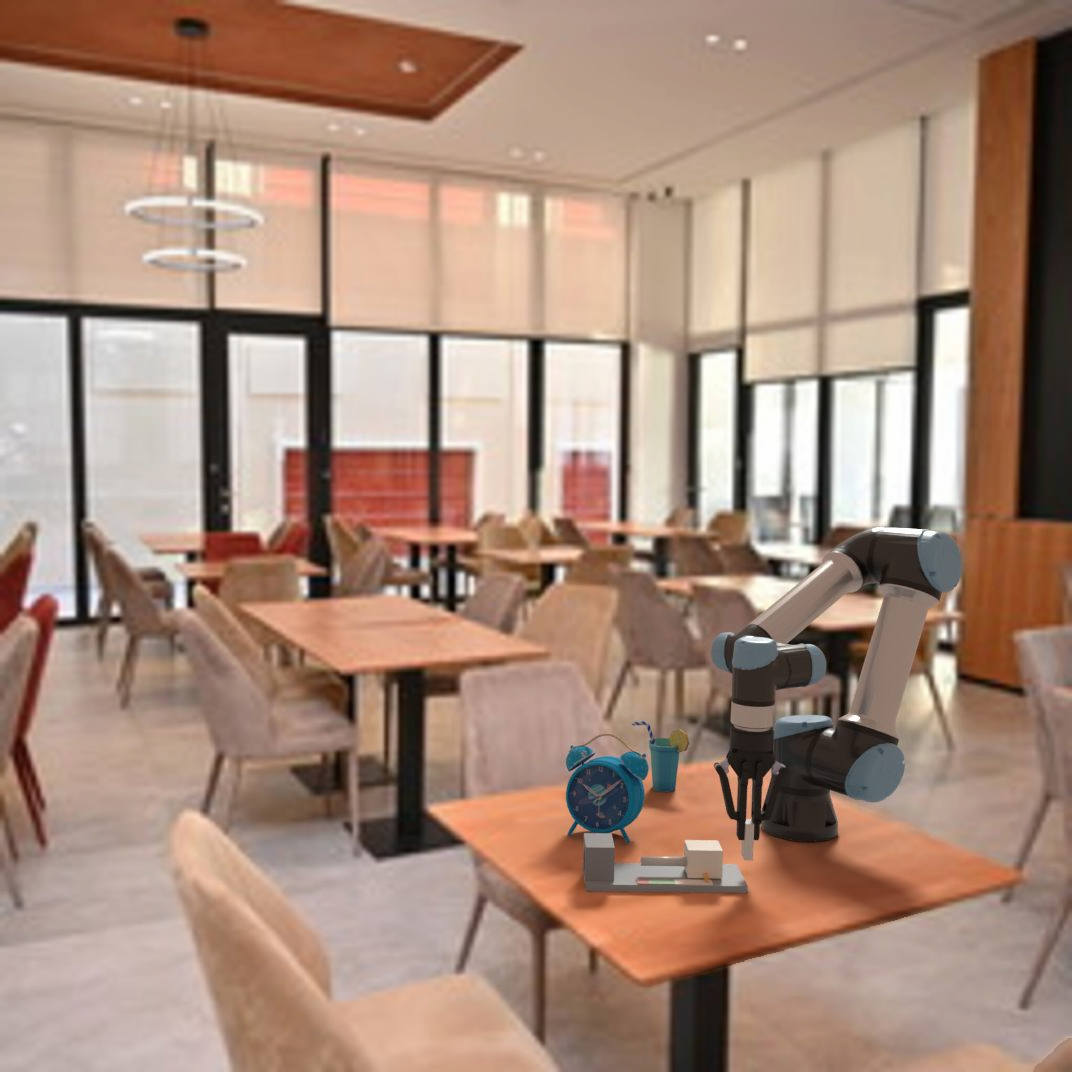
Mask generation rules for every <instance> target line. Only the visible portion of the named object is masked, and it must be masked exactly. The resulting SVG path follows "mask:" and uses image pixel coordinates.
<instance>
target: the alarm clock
mask: <svg viewBox="0 0 1072 1072" xmlns="http://www.w3.org/2000/svg"><path fill="white" fill-rule="evenodd" d="M605 736H607V737H612V738H615V739H617V740H618V741H620V743H622V744H623V746H624V747H626V748H627V749H628V750H629V751H627V752H624V753H623V754H621V755H620V757H617V756H613V755H604V756H599V757H598V756H597V757H595V758H593V759H592V757H594V756H595V755H596V752H595V751H594V750H593V749H592V748H590V747H588V745H589V744H591V743H592V742H593V741H595V740H597V739H598V738H601V737H605ZM569 748H570V750H568V754H567V756H566V759H565V766H566V769H567V771H568V772H572V771H573V770H574V771H573V773H572V775H571V776H570V778H569V779H568V782H567V786H566V791H565V802H566V807H567V809H568V811H569V814H570V816H571V817H572V819H573V820H574V822H573V823H572V825H571V826H570V828H569V829H568V831H567V836H571V835H573V833H574V831H575V830H576V828H577V826H578V825H579V826H580V827H582V828H583V829H585V830H586V831H589V832H590V833H613V832H617V831H620V833H621V835H622V837H623V839H624V841H625V842H626V844H627V845H629V844H631V841H630V838H629V836H628V833H627V832H626V830H625V828H626V827H628V826H630V825H631V824H632V823H633V822H634V821H635V820H636V819H638V817H639V816H640V813H642V810H643V807H644V804H645V803H644V802H645V786H644V781H645V780H646V778H647V777H648V774H649V769H650V768H649V763H648V760H647V754H646V753H642V752H639V751H638V750H636V749H633V748H632V747H630V746H629V745H628V743H626V742H625V741H624V740H623V739H622V738H621V737H619V736H618V735H615V734H613V733H609V732H607V733H601V734H598V735H596V736H594V737H593V738H592V739H590V740H588V741H587V742H585V743H582V744H578V745H575V746H574V745H570V746H569ZM590 759H591V760H590ZM588 760H589V761H588Z"/></svg>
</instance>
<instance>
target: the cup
mask: <svg viewBox="0 0 1072 1072" xmlns="http://www.w3.org/2000/svg"><path fill="white" fill-rule="evenodd" d="M631 726H646V728H647V729H646V730H647V731H648V735H649V738H650V739H649V740H648V747H649V750H650V764H651V765H650V766H651V780H652V791H656V792H659V793H671V792H674V791H676V786H677V779H678V778H677V776H678V767H679V760H680V753H681V752H686V751H687V750H688V747H689V745H690V739H689V737H688V734H687V733H686V732H684V731H683V730H682V729H681V728H680V729H676V730H672V731H671V734H670V735H669V738H668V737H667V738H665V737H663V738H662V737H661V738H659V737H657V738H654V734H653V732H652V727H651V725H650V724H649V723H648V722H647V721H646V720H642V721H631Z"/></svg>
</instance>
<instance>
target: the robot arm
mask: <svg viewBox="0 0 1072 1072" xmlns="http://www.w3.org/2000/svg"><path fill="white" fill-rule="evenodd" d="M962 571H963V559H962V554H961V552H960V548H959V545H958V543H957V542H956V540H955V539H954V538H953V536H951V535H950V534H948V533H946V532H944V531H938V530H931V529H930V528H925V529H918V528H906V527H905V528H904V527H891V526H876V527H872V528H867V529H865V530H863V531H860V532H858V533H856V534H854V535H852V536H850V537H849V538H847V539H845V540H844V541H842V542H840V543H839V544H837V545H836V546H834V547H833V548H831V550H829V551H828V552H827V553H826V554H825V555H824V556H823V557H822V560H821V564H820V565H819V566H818V567H816V568H815V569H814V570H812V572H810V573H809V574H808V575H807V576H806V577H805V578H803V579H802V580H800V582H798V583H797V584H795V586H793V587H792V588H791V589H789V591H787V592H786V593H785V594H784V595H782V596H781V597H780V598H778V599H777V600H776V601H775V602H774V603H772V604H771V605H770V606H769V607H768V608H767V609H764V611H763V612H762V613H760V615H758V616H757V617H756V618H754V619H753V620H752V621H750V622H749V623H748V624H747V625H746V626H745V627H743V628H742V629H741V630H739V631H738V632H737V633H736V632H734V631H730V632H721V633H719V634H718V635H716V637H715V638H714V640H713V641H712V643H711V644H712V645H711V648H710V657H711V660H712V663H713V665H714V667H716V668H717V669H719V670H720V671H721V670H722V671H724V672H727V673H730V674H731V706H730V707H731V709H730V723H731V726H730V731H729V749H728V752H727V754H726V756H725V757H726V758H725V759H724V760H722V761H720V762H715V763H713V769H714V770H715V771H716V773H717V775H718V778H719V781H720V786H721V790H722V796H723V800H724V802H723V803H724V805H725V806H724V807H725V811H726V814H727V816H728V817H729V819H730V820H734V821H736V833H735V834H736V836H737V839H738V840H739V841H741V853H740V854H741V857H742V859H743V860H744V861H753V860H754V842H755V841H759V840H760V837H761V835H760V833H761V829H762V830H763V831H764V832H766V833H767V834H769V835H770V836H773V837H775V838H779V839H782V840H789V841H795V842H805V843H817V842H824V841H829V840H831V839H834V838H835V837H837V835H838V832H839V820H838V817H837V815H836V811H835V807H834V804H833V800H832V797H831V792H835V793H837V794H841V795H844V796H847V797H849V798H851V799H854V800H856V801H864V802H866V803H879V802H882V801H884V800H886V799H887V798H888V797H890V796H892V794H894V792H895V791H896V790H897V789H898V787H899V786H900V783H901V782H902V780H903V776H904V773H905V769H906V768H905V767H906V763H905V762H904V761H905V755H904V753H903V751H902V749H900V747H899V746H898V744H899V742H900V741H899V740H900V736H899V735H898V733H897V731H896V730H895V725H896V721H897V718H898V714H899V711H900V707H901V703H902V701H903V698H904V697H903V696H904V695H905V694H904V693H905V690H906V687H907V683H908V680H909V677H910V674H911V669H912V667H913V663H914V660H915V656H916V654H917V649H918V646H919V643H920V640H921V635H922V633H923V629H924V626H925V623H926V619H927V616H928V611H929V610H931V609H932V608H935V607H936V606H938V605H939V604H940V600H941V597H942V594H944V593H945V594H946V593H948V592H952V591H953V590H955V588H957V586H958V584H959V583H960V580H961V577H962ZM869 584H870V585H871V584H878V589H879V591H880V593H881V594H882V597H883V598H882V602H881V605H880V609H879V612H878V615H877V618H876V622H875V625H874V628H873V632H872V634H871V638H870V642H869V645H868V648H867V652H866V655H865V657H864V662H863V665H862V669H861V671H860V675H859V677H858V678H859V679H858V682H857V684H856V685H857V686H856V689H855V692H854V694H853V699H852V701H851V704H850V709H849V712H847V714H844V715H843V716H841V717H839V718H838V719H837V723H836V727H835V728H834V723H833V722H834V721H833V719H832V718H831V717H829V716H827V715H821V714H800V715H799V714H798V715H797V714H796V715H787V716H783V717H780V718H778V719H777V720H775V710H776V709H775V708H776V706H775V705H776V691H780V690H787V689H788V690H789V689H794V688H806V687H809V686H813V685H816V684H818V683H820V682H821V681H822V680H823V679H824V677H825V675H826V673H827V672H826V671H827V659H826V657H825V654H824V653H823V651H822V650H821V649H820V647H818V646H816V645H814V644H811V643H805V644H804V643H798V644H789V642H790V641H792V640H793V639H795V637H797V636H798V635H799V634H800V633H801V632H802V631H804V629H806V628H807V627H808V626H809V625H810V624H812V623H813V622H815V620H817V619H818V618H819V617H820V616H822V615H823V614H824V612H826V611H827V610H828V609H830V608H831V607H832V606H833V605H834V604H835V603H837V602H838V601H839V600H840V599H841V598H842V597H844V595H846V594H848V593H855V592H857V591H859V590H860V589H861V588H863V586H866V585H869ZM729 767H731V768H732V770H733V772H734V773H735V775H736V776H737V795H736V797H737V798H736V809H735V805H734V804H735V803H734V799H733V795H732V789H731V785H730V781H729V777H728V775H727V774H728V773H730V770H729ZM770 770H771V772H770ZM768 772H770V773H771V774H770V780H769V784H768V787H767V792H766V795H765V799H764V802H763V805H762V800H763V797H762V795H763V784H764V778H765V777H766V775H767V774H768ZM749 780H751V783H752V784H751V785H752V786H751V811H750V815H751V816H750V817H751V818H747V807H748V806H747V804H748V787H749Z"/></svg>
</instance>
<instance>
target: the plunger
mask: <svg viewBox="0 0 1072 1072" xmlns="http://www.w3.org/2000/svg"><path fill="white" fill-rule="evenodd" d="M683 843H684V844H683V846H684V847H683V849H684V850H683V856H647V855H645V856H644V855H643V856H640V861H639V862H640V863H641V866H684V869H685V872H686V874H687V877H688V878H704V880H705V882H709V878H716V879H722V867H723V864H724V863H723V862H724V861H723V860H724V850H723V848H722V846H721V844H720V841H719V840H715V839H713V840H712V839H711V840H710V839H709V840H705V839H684V842H683Z"/></svg>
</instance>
